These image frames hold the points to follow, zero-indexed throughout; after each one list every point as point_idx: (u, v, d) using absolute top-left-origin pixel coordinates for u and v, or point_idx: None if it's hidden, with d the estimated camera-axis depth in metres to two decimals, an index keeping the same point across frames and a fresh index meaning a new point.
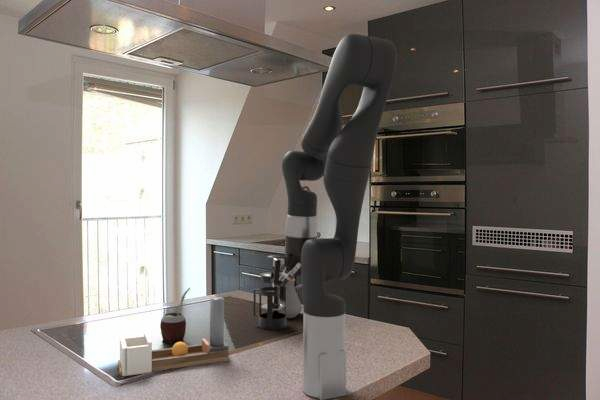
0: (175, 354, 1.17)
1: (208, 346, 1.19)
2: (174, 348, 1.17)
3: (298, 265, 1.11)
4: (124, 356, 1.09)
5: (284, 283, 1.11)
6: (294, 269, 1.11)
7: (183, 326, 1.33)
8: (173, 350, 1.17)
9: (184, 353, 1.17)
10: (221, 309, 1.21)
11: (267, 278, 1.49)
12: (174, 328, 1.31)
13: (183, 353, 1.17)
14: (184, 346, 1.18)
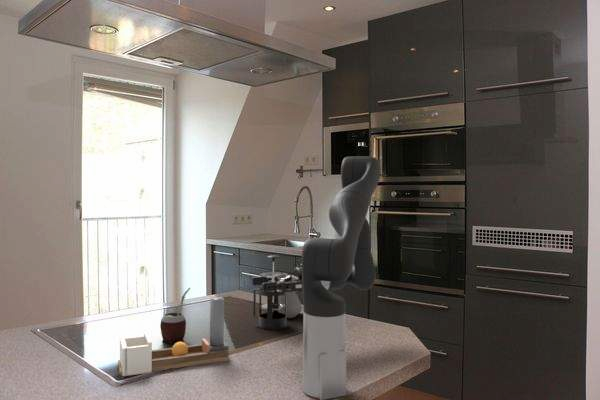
0: (175, 354, 1.17)
1: (208, 346, 1.19)
2: (174, 348, 1.17)
3: (285, 274, 1.32)
4: (124, 356, 1.09)
5: (267, 275, 1.33)
6: (281, 274, 1.33)
7: (183, 326, 1.33)
8: (173, 350, 1.17)
9: (184, 353, 1.17)
10: (221, 309, 1.21)
11: None
12: (174, 328, 1.31)
13: (183, 353, 1.17)
14: (184, 346, 1.18)
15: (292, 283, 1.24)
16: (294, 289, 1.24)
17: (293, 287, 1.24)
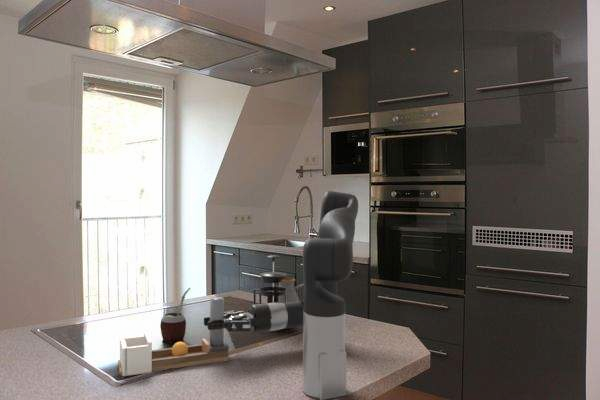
0: (175, 354, 1.17)
1: (208, 346, 1.19)
2: (174, 348, 1.17)
3: (241, 311, 1.27)
4: (124, 356, 1.09)
5: None
6: (236, 312, 1.26)
7: (183, 326, 1.33)
8: (173, 350, 1.17)
9: (184, 353, 1.17)
10: (221, 309, 1.21)
11: (267, 278, 1.49)
12: (174, 328, 1.31)
13: (183, 353, 1.17)
14: (184, 346, 1.18)
15: (238, 322, 1.19)
16: (240, 329, 1.19)
17: (239, 327, 1.19)
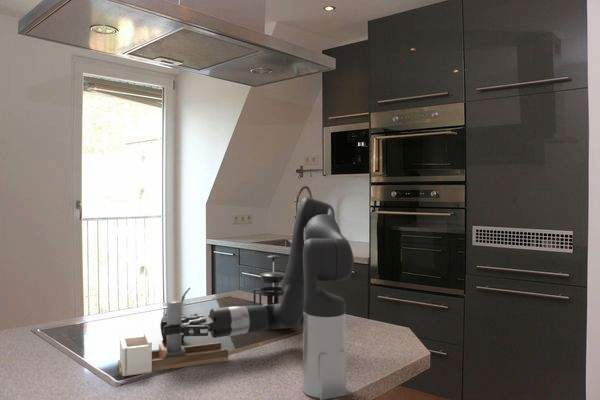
0: None
1: (164, 352, 1.14)
2: None
3: (201, 315, 1.22)
4: (124, 356, 1.09)
5: None
6: (195, 316, 1.22)
7: None
8: None
9: None
10: (178, 313, 1.17)
11: (267, 278, 1.49)
12: None
13: None
14: None
15: (195, 327, 1.14)
16: (197, 334, 1.14)
17: (196, 331, 1.14)
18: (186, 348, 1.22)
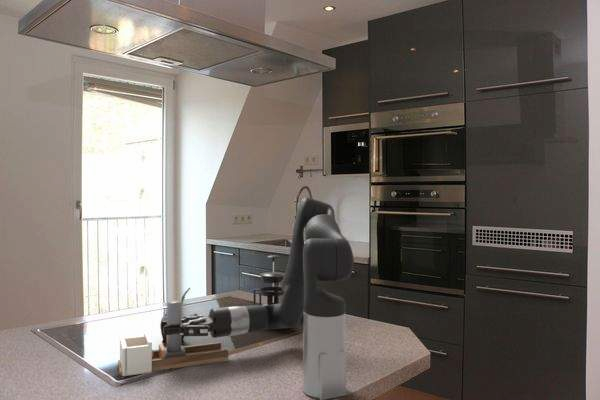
0: None
1: (164, 352, 1.14)
2: None
3: (201, 315, 1.22)
4: (124, 356, 1.09)
5: None
6: (195, 316, 1.22)
7: None
8: None
9: None
10: (178, 313, 1.17)
11: (267, 278, 1.49)
12: None
13: None
14: None
15: (195, 327, 1.14)
16: (197, 334, 1.14)
17: (196, 331, 1.14)
18: (186, 348, 1.22)
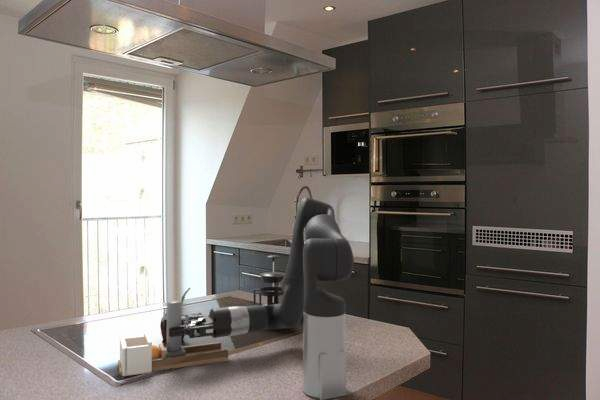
0: (157, 350, 1.15)
1: (164, 352, 1.14)
2: (159, 355, 1.16)
3: (201, 315, 1.22)
4: (124, 356, 1.09)
5: None
6: (196, 315, 1.22)
7: None
8: (159, 353, 1.16)
9: None
10: (178, 313, 1.17)
11: (267, 278, 1.49)
12: None
13: None
14: None
15: (201, 328, 1.14)
16: (204, 334, 1.14)
17: (203, 332, 1.14)
18: (186, 348, 1.22)
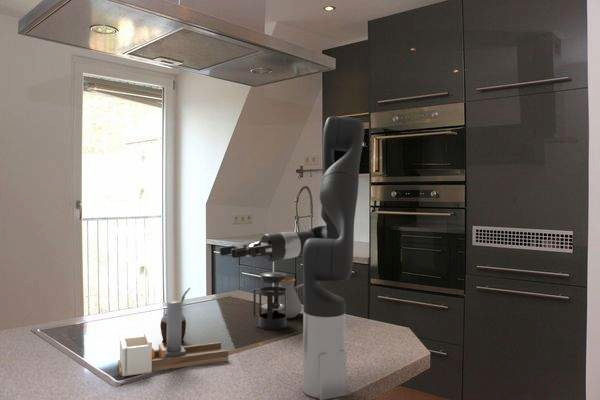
0: None
1: (164, 352, 1.14)
2: (153, 352, 1.15)
3: (254, 241, 1.27)
4: (124, 356, 1.09)
5: (235, 245, 1.28)
6: (249, 242, 1.27)
7: (183, 326, 1.33)
8: (152, 349, 1.15)
9: None
10: (178, 313, 1.17)
11: (267, 278, 1.49)
12: None
13: None
14: None
15: (262, 247, 1.19)
16: (264, 253, 1.20)
17: (263, 251, 1.19)
18: (186, 348, 1.22)
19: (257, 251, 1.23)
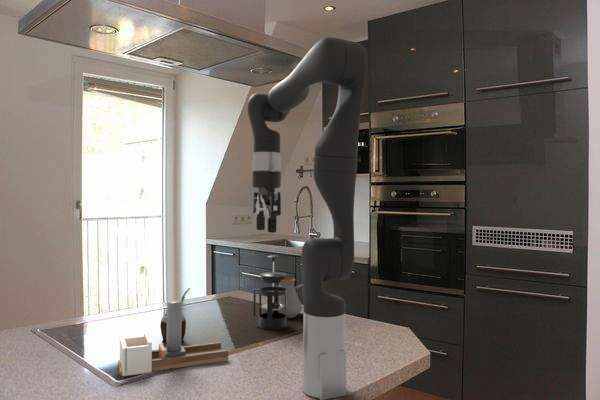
0: None
1: (164, 352, 1.14)
2: None
3: (258, 197, 1.24)
4: (124, 356, 1.09)
5: (256, 212, 1.27)
6: (257, 200, 1.25)
7: (183, 326, 1.33)
8: None
9: None
10: (178, 313, 1.17)
11: (267, 278, 1.49)
12: None
13: None
14: None
15: (272, 203, 1.17)
16: (278, 201, 1.18)
17: (276, 202, 1.17)
18: (186, 348, 1.22)
19: None
